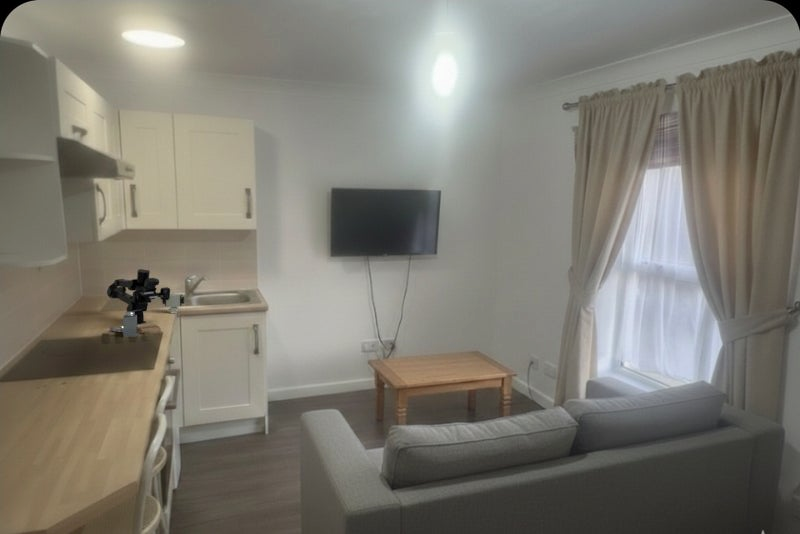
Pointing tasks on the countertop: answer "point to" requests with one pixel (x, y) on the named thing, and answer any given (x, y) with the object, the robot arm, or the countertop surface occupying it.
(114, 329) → the bolt
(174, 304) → the pneumatic valve
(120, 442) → the countertop surface
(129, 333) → the housing
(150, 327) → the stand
